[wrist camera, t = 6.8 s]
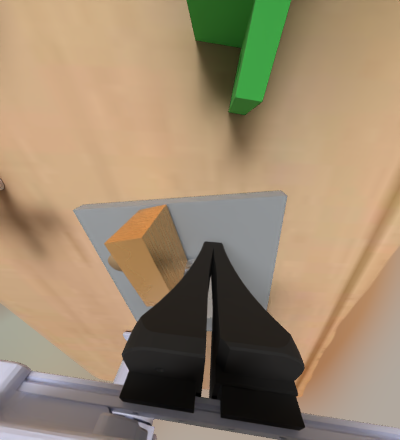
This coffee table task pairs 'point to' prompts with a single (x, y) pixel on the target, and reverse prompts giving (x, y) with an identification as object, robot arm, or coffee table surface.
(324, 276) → the coffee table surface
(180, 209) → the board
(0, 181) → the pipe connector
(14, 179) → the coffee table surface
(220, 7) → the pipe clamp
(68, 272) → the coffee table surface
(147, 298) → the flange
